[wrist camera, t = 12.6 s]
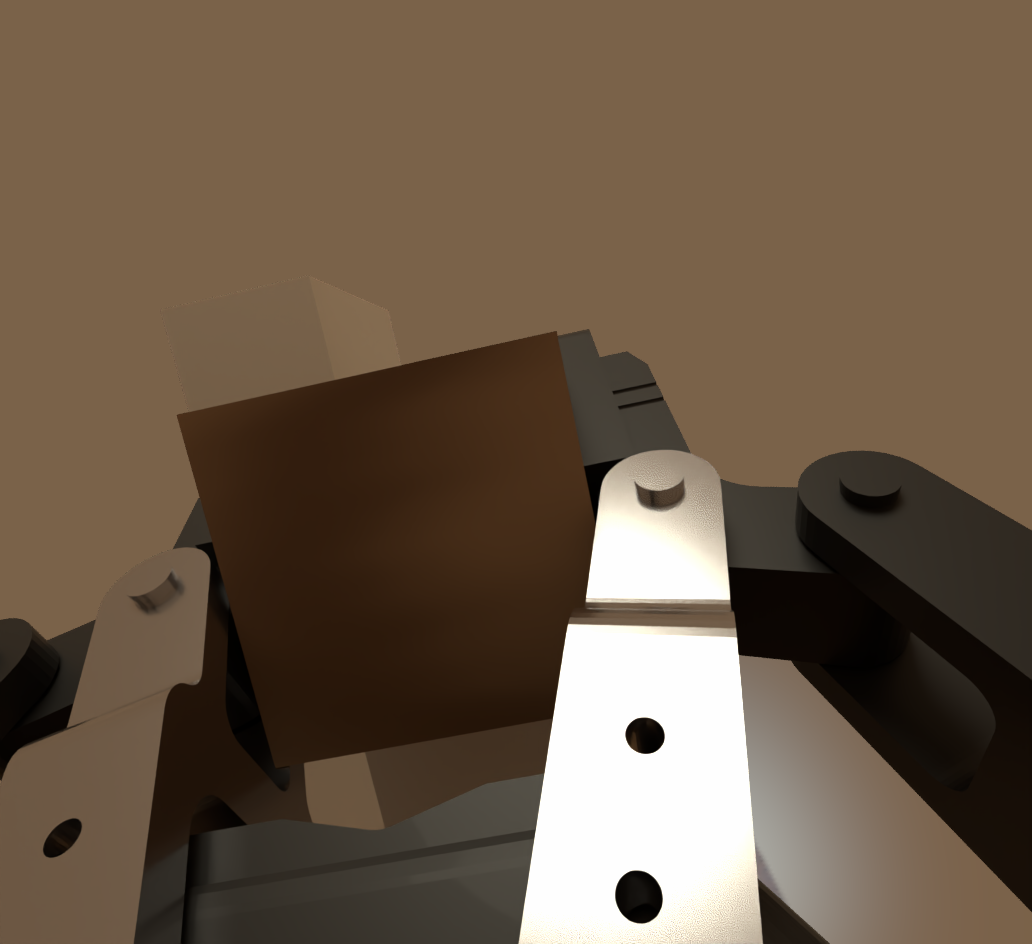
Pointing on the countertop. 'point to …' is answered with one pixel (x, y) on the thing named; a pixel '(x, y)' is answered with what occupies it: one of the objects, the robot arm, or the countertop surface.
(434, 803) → the grey pedestal
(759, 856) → the countertop surface
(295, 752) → the walnut bar
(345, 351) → the tall stand
